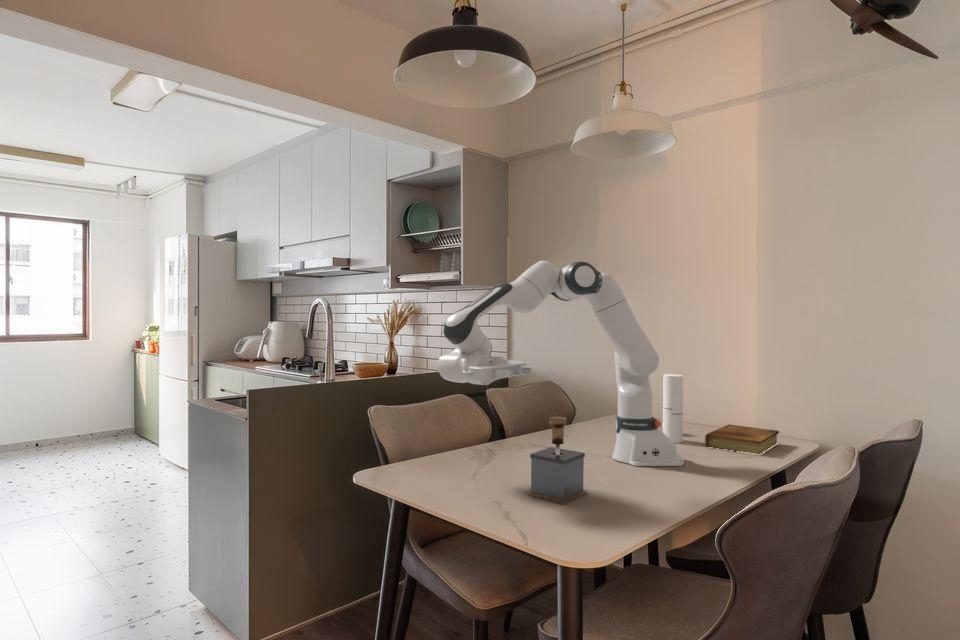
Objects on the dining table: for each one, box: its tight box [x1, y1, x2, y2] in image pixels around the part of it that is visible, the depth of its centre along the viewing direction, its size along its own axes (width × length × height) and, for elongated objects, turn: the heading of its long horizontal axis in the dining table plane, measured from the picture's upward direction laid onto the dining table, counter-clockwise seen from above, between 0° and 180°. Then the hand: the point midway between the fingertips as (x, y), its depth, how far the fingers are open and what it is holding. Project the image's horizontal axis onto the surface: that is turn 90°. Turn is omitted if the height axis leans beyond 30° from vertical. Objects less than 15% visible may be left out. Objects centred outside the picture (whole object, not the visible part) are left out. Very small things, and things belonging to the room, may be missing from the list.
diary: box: [704, 423, 780, 455], centre depth 208 cm, size 23×19×6 cm
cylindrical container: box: [662, 373, 684, 444], centre depth 215 cm, size 7×7×25 cm
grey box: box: [528, 446, 587, 505], centre depth 151 cm, size 11×11×11 cm
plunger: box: [549, 416, 567, 455], centre depth 151 cm, size 8×8×19 cm
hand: (521, 372), depth 158 cm, fingers open, 8 cm apart
